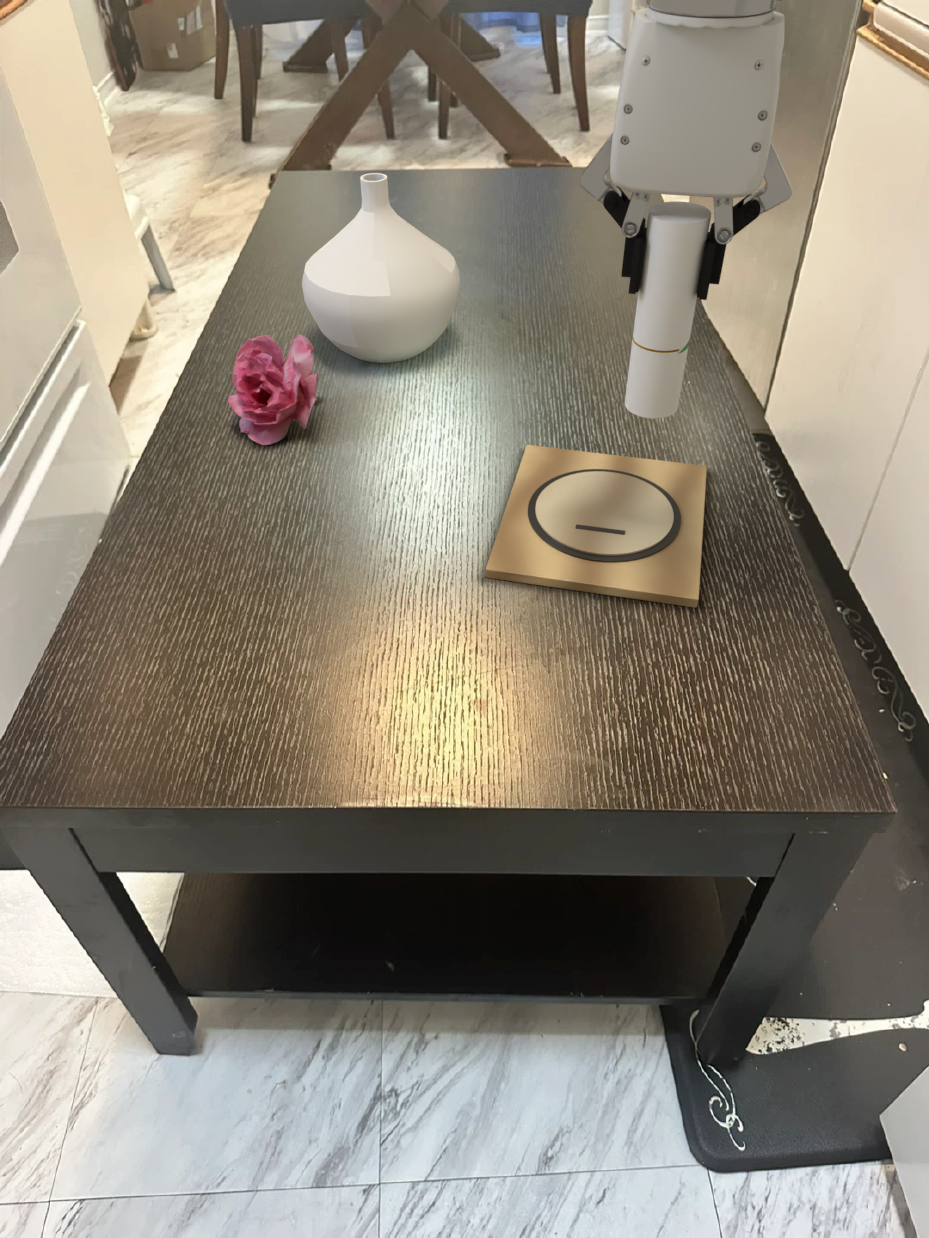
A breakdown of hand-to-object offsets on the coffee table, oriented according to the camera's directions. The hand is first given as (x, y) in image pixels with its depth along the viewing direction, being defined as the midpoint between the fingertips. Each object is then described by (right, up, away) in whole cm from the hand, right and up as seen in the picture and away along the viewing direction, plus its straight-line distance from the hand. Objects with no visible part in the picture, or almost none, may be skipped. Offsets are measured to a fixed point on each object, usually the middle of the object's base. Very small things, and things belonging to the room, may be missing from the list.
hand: (668, 287), depth 65 cm
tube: (0, -7, +7) cm, 10 cm away
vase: (-25, +9, +43) cm, 51 cm away
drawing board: (-2, -15, +17) cm, 23 cm away
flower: (-35, -4, +30) cm, 47 cm away
